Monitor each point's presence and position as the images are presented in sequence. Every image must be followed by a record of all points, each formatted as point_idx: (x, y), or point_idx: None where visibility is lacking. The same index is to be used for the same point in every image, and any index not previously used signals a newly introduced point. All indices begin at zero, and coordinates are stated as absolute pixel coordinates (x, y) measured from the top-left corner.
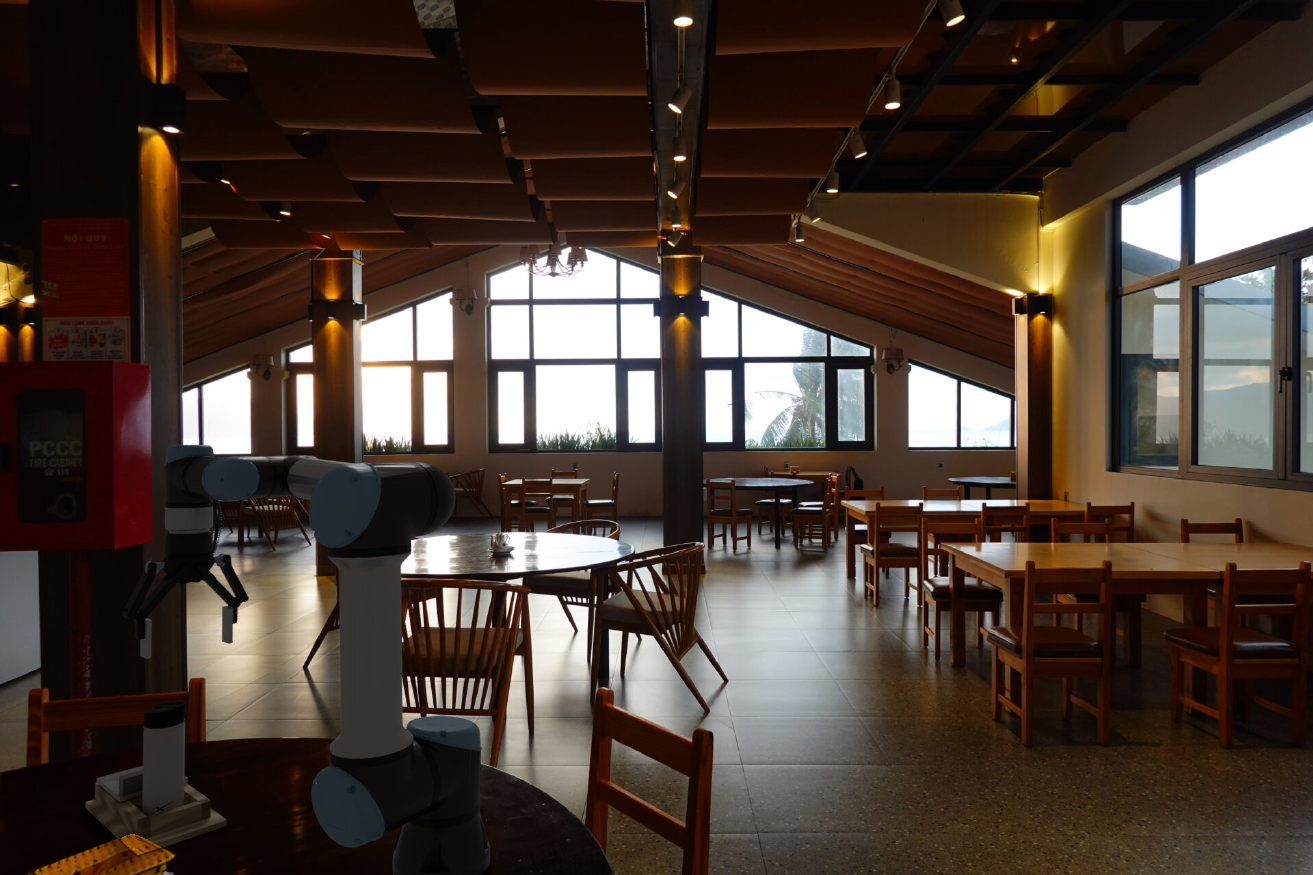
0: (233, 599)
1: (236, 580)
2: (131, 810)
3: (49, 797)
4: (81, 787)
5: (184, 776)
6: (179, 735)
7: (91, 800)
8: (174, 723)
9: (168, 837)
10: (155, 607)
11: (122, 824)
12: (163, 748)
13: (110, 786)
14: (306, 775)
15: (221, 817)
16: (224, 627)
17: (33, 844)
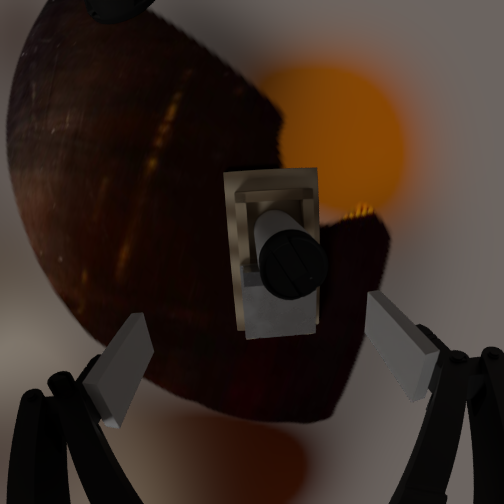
0: (66, 407)
1: (19, 467)
2: (310, 229)
3: (330, 362)
4: (304, 368)
5: (243, 266)
6: (272, 229)
7: None
8: (284, 231)
9: (284, 173)
10: (436, 394)
11: None
12: (295, 224)
13: (313, 299)
14: (115, 246)
15: (225, 183)
16: (135, 364)
17: (372, 266)
